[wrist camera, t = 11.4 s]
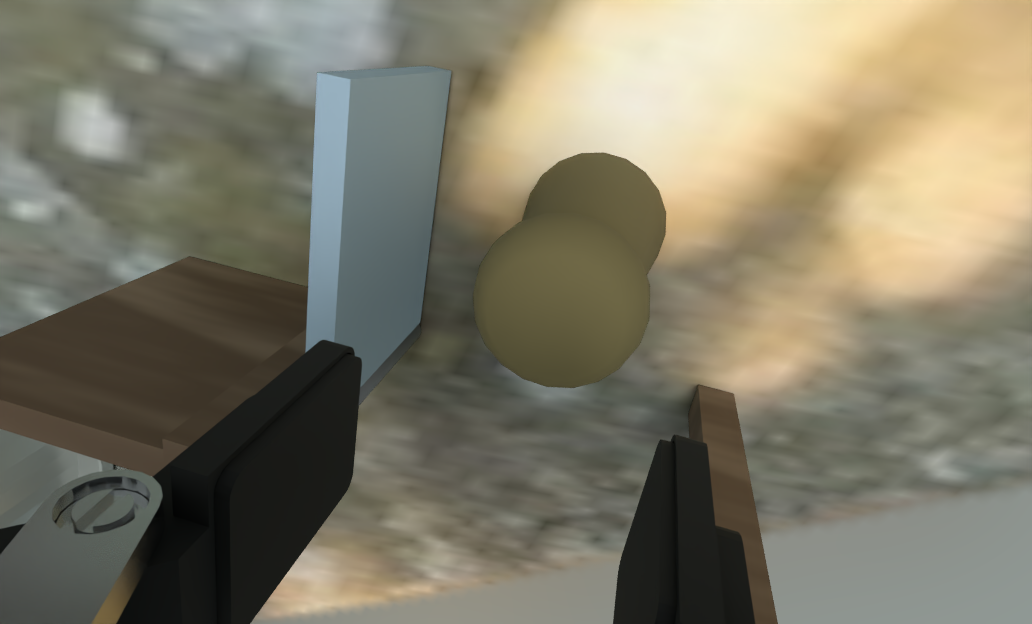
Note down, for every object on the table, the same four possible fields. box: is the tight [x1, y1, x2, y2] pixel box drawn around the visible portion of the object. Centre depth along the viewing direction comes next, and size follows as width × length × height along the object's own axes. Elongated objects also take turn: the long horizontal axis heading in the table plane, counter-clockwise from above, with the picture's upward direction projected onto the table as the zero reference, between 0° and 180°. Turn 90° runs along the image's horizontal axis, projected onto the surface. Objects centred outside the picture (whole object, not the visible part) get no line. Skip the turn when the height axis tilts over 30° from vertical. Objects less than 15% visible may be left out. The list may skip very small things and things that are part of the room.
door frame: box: [0, 256, 778, 624], centre depth 25 cm, size 2×27×13 cm, turn 80°
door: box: [305, 66, 451, 405], centre depth 24 cm, size 1×12×9 cm, turn 170°
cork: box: [473, 153, 666, 388], centre depth 22 cm, size 6×6×11 cm
